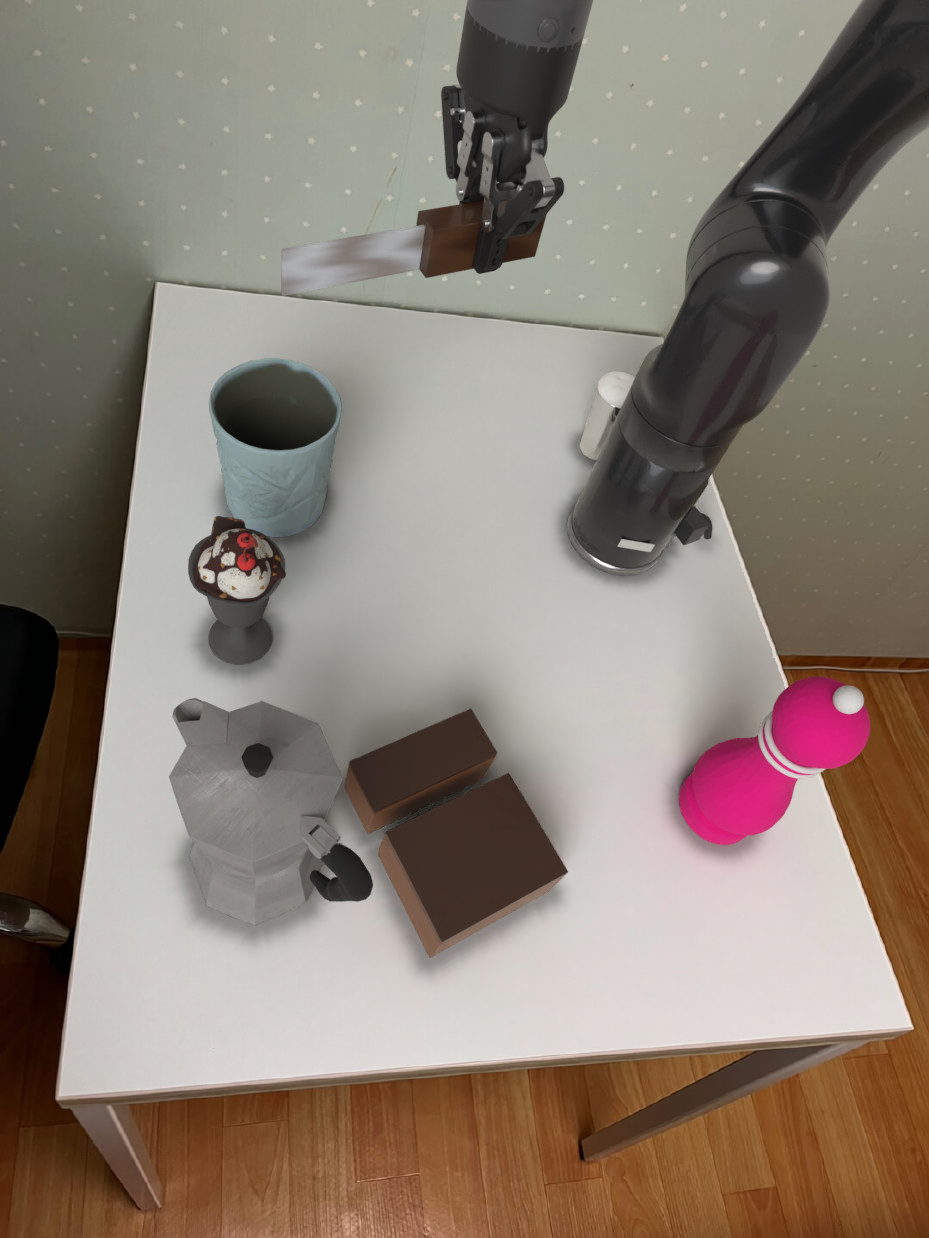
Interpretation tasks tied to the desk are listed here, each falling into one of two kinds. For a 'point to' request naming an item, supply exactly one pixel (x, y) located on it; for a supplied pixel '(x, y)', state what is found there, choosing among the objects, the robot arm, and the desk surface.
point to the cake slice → (418, 770)
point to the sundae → (237, 587)
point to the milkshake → (604, 411)
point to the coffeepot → (261, 810)
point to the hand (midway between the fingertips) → (475, 256)
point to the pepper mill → (774, 760)
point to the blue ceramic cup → (275, 442)
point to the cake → (469, 863)
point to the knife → (399, 250)
